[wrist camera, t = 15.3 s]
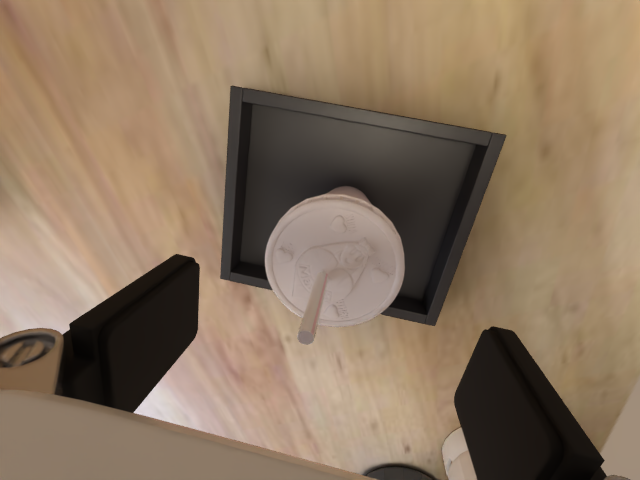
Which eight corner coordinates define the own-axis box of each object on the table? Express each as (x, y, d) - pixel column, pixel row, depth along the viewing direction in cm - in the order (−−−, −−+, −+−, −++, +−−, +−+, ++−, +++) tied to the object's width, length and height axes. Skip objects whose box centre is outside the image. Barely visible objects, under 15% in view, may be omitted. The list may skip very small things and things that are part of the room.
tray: (490, 133, 20) (507, 135, 18) (428, 307, 25) (435, 326, 23) (245, 89, 21) (230, 85, 19) (232, 265, 26) (219, 278, 24)
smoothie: (285, 202, 23) (183, 305, 10) (354, 147, 21) (337, 187, 8) (337, 266, 24) (306, 429, 11) (408, 219, 22) (466, 355, 9)
